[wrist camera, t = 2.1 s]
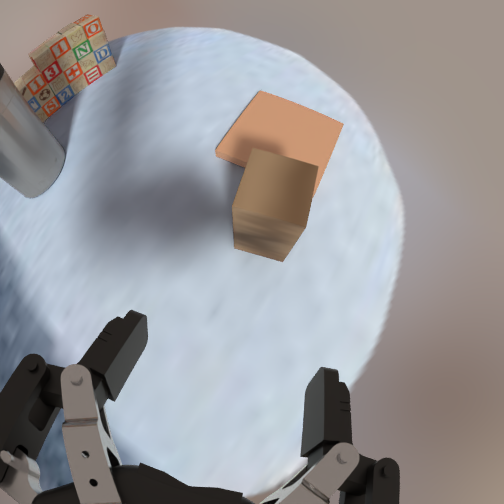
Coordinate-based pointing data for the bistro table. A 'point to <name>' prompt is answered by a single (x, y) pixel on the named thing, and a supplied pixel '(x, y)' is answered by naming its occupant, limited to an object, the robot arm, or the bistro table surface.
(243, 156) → the terracotta tile
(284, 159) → the walnut block
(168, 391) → the bistro table surface
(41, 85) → the stack of blocks
